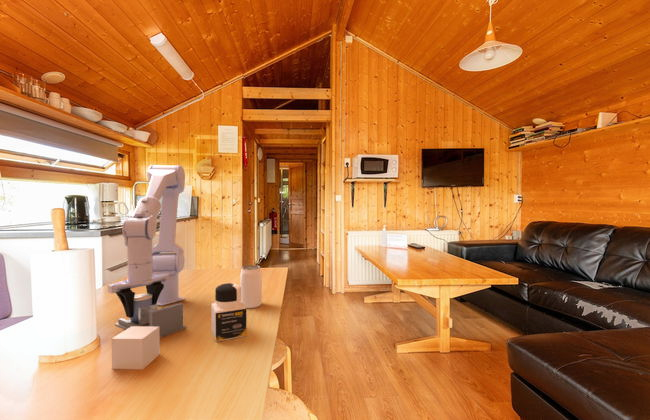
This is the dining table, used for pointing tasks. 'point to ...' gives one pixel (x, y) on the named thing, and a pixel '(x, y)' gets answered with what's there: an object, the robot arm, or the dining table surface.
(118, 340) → the pale pink cube
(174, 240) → the robot arm
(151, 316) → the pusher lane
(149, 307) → the plate
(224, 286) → the medicine bottle
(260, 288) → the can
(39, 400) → the dining table surface
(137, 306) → the jar
